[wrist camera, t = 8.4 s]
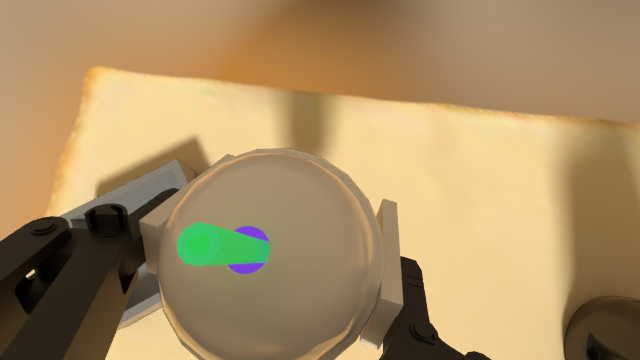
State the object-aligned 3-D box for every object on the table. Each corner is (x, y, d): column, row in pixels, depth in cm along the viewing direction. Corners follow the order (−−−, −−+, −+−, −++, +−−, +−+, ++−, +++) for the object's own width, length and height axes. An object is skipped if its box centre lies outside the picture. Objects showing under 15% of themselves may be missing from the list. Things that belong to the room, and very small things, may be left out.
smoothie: (266, 325, 22) (-128, 815, 3) (238, 226, 24) (-90, 99, 5) (363, 287, 23) (603, 447, 3) (327, 194, 25) (351, -27, 6)
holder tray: (237, 265, 36) (224, 266, 31) (127, 326, 34) (96, 337, 29) (194, 170, 40) (176, 158, 35) (92, 221, 38) (59, 216, 33)
